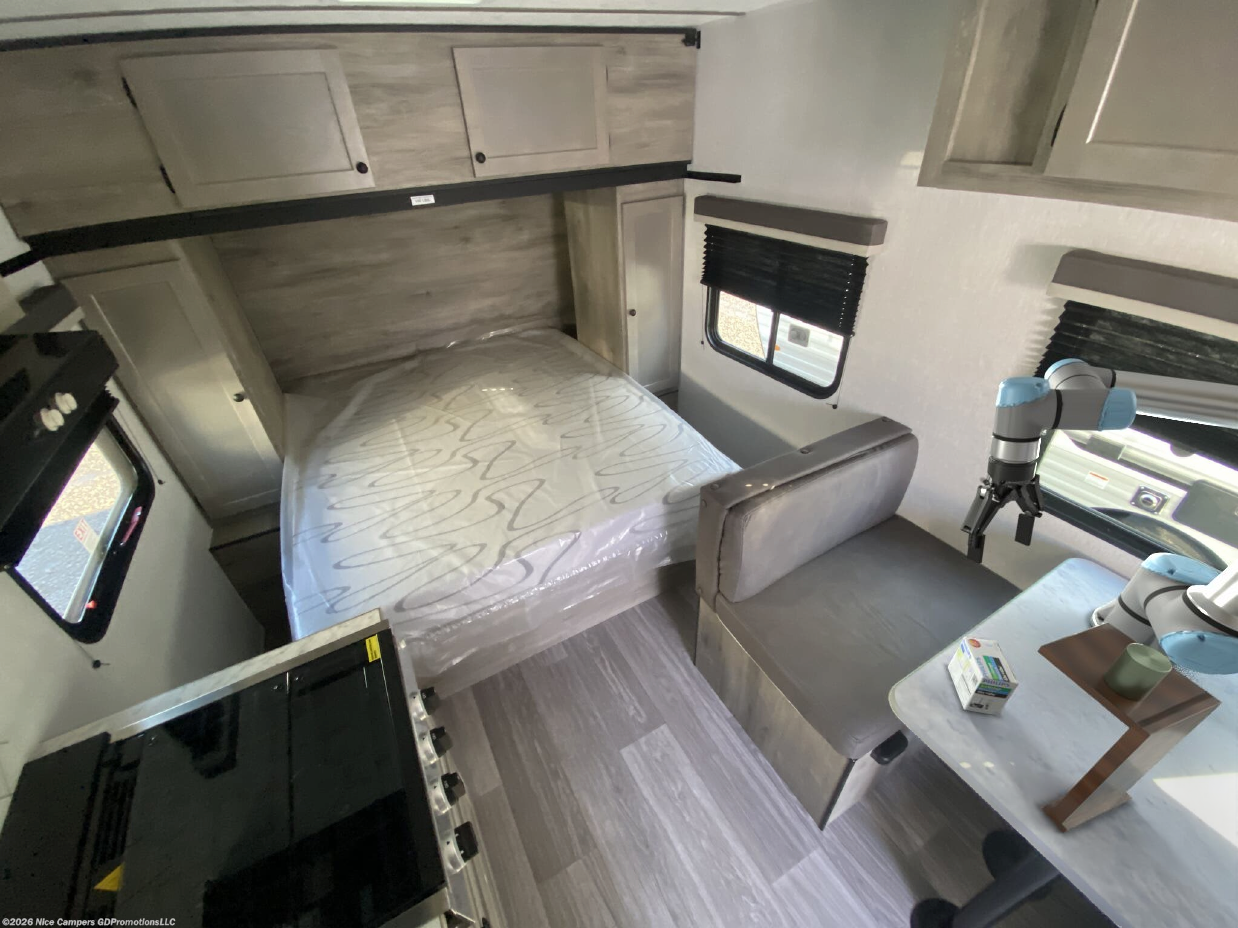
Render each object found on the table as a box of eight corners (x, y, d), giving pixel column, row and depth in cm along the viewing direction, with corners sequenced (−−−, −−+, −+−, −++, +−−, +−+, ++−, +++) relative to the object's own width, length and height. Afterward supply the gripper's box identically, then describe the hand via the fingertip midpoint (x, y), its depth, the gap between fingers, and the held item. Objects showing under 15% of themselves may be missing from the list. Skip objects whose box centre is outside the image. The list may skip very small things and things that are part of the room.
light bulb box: (998, 716, 105) (1021, 684, 99) (962, 710, 106) (982, 678, 100) (978, 671, 113) (998, 639, 108) (945, 666, 115) (963, 634, 109)
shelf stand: (1036, 715, 105) (1129, 593, 86) (1128, 801, 91) (1263, 679, 72) (977, 739, 101) (1060, 617, 82) (1064, 833, 87) (1188, 713, 68)
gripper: (1038, 439, 107) (1023, 529, 114) (946, 465, 100) (936, 559, 107) (1079, 448, 100) (1060, 543, 107) (983, 477, 93) (970, 576, 101)
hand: (998, 551), depth 107 cm, fingers open, 13 cm apart
